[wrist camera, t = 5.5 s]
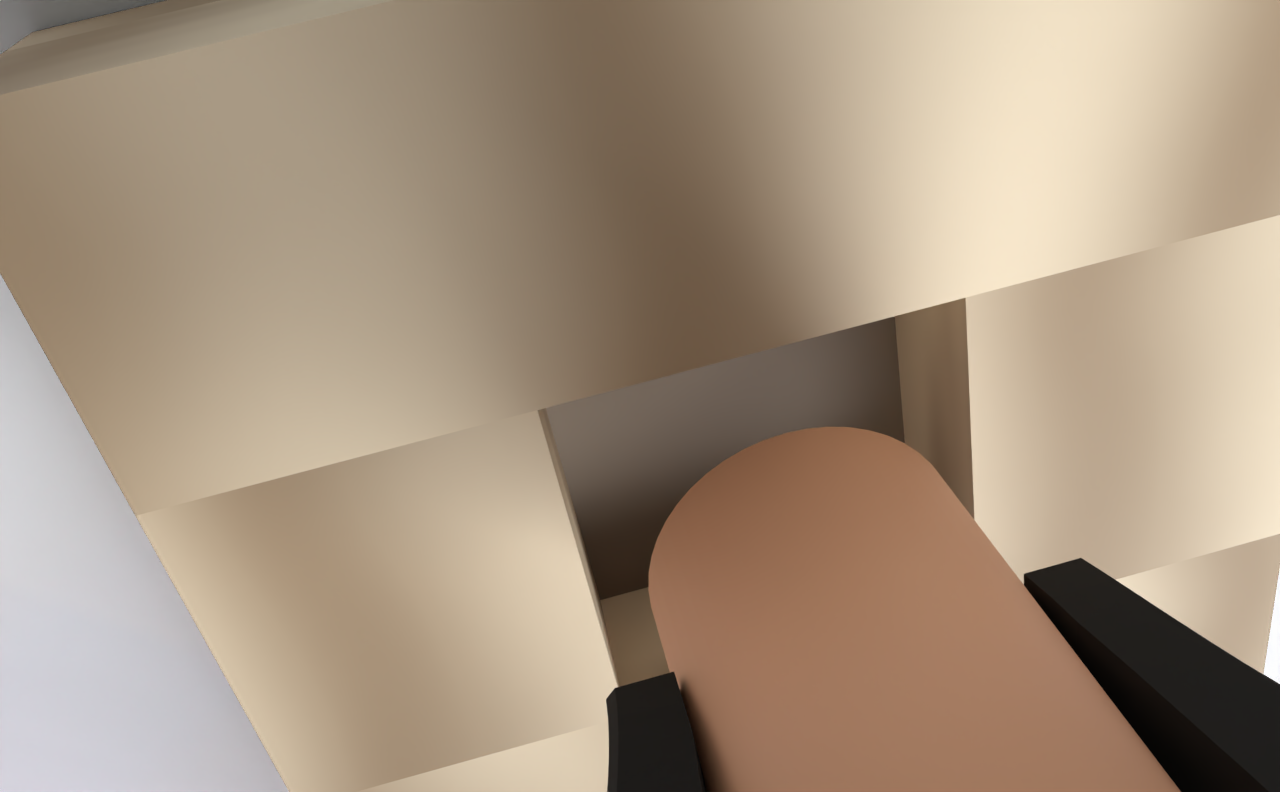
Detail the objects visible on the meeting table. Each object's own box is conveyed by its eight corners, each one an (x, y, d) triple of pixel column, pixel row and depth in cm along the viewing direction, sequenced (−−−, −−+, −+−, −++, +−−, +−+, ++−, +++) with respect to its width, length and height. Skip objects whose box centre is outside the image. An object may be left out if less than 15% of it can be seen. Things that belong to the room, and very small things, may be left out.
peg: (969, 404, 12) (1410, 894, 6) (944, 657, 13) (1274, 1199, 8) (638, 453, 11) (826, 1021, 6) (657, 707, 13) (814, 1313, 8)
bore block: (1180, -242, 13) (1402, -243, 10) (1130, 604, 21) (1252, 747, 18) (32, 31, 12) (-87, 116, 10) (403, 808, 20) (401, 993, 17)
